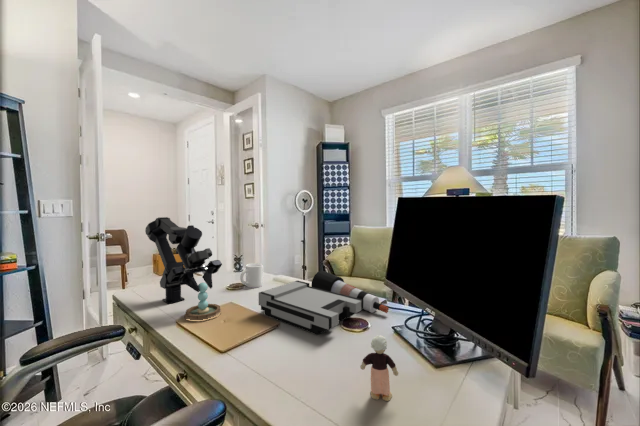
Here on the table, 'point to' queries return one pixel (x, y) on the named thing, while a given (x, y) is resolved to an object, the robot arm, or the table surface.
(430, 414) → the table surface
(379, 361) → the grandmother figurine
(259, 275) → the mug
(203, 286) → the bead stack
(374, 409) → the table surface
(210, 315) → the groove tray
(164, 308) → the table surface
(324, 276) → the cable
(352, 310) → the grey boxy piece
